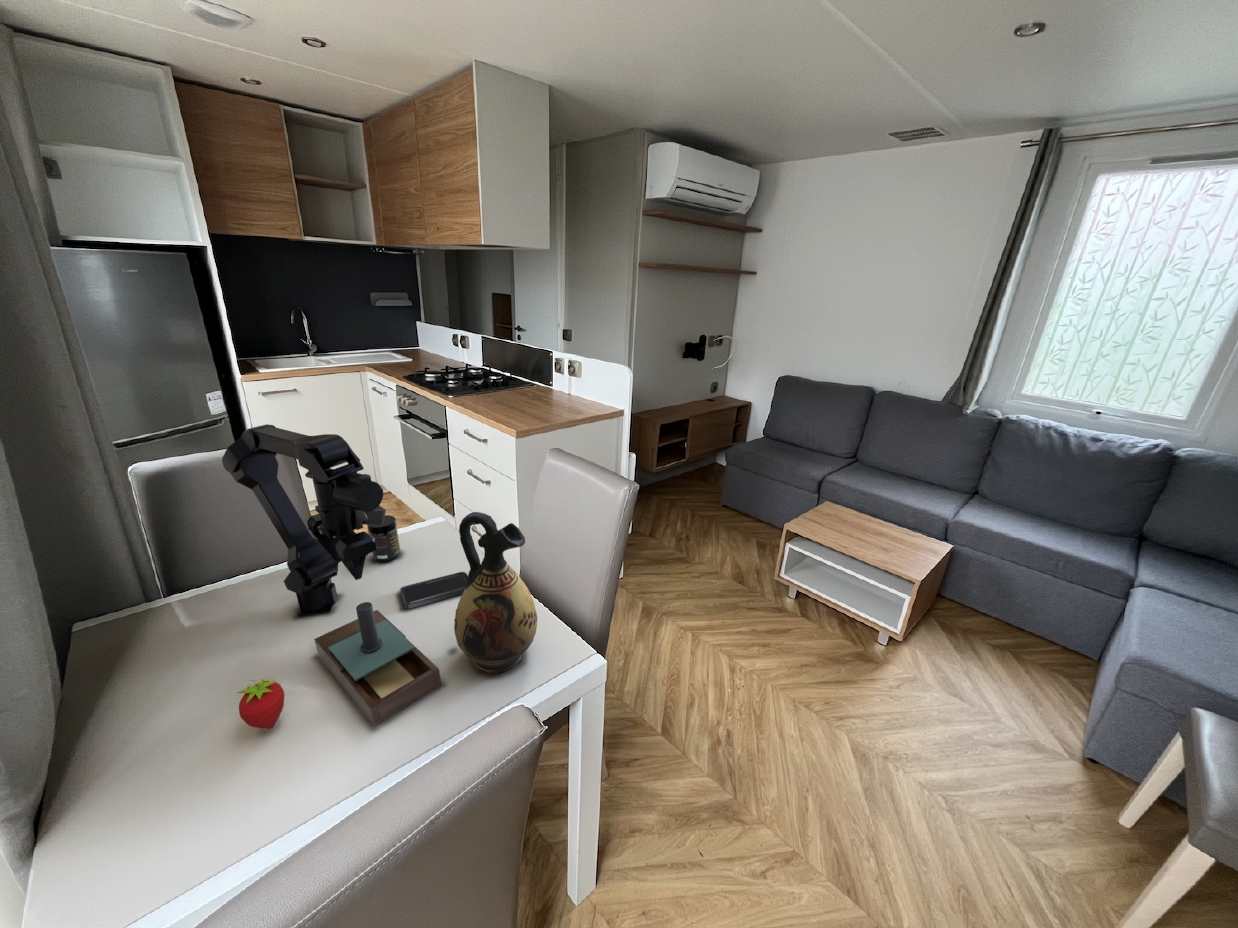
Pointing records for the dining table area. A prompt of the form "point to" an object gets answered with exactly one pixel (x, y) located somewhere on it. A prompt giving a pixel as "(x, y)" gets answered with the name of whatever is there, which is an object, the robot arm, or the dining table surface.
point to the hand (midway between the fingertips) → (348, 570)
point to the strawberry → (261, 704)
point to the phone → (433, 590)
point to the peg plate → (370, 645)
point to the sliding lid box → (381, 676)
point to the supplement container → (385, 540)
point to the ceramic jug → (493, 600)
